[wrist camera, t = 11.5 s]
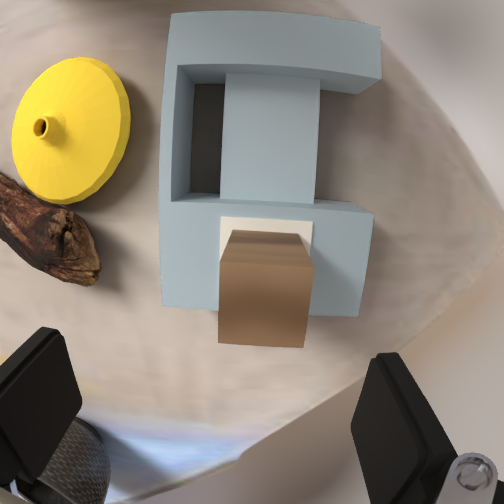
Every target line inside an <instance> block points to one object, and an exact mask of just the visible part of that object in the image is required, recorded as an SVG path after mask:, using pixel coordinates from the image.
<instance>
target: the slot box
mask: <svg viewBox="0 0 504 504" xmlns="http://www.w3.org/2000/svg"><path fill="white" fill-rule="evenodd" d="M380 80H382V61H381V34H380V27H378V26H374V25H369V24H365V23H360V22H355V21H349V20H344V19H338V18H331V17H324V16H317V15H309V14H299V13H289V12H275V11H252V10H218V11H195V12H182V13H171V20H170V28H169V36H168V44H167V53H166V63H165V73H164V85H163V98H162V112H161V131H160V156H159V250H160V275H161V294H162V306H166V307H177V308H188V309H201V310H214V311H219V267H220V260H221V257H222V255H223V252H224V250H225V247H226V245H227V242H228V240H229V237H230V235H231V232H232V230H233V229H234V230H250V231H266V232H281V233H296V234H299V236H300V238H301V240H302V242H303V244H304V247H305V249H306V251H307V253H308V255H309V257H310V259H311V261H312V263H313V265H314V276H313V284H312V292H311V299H310V306H309V313H308V315H310V316H358V314H359V309H360V304H361V298H362V293H363V287H364V282H365V276H366V269H367V263H368V257H369V250H370V243H371V235H372V228H373V219H374V214H373V213H372V212H370V211H368V210H366V209H364V208H362V207H360V206H358V205H356V204H354V203H352V202H345V201H333V200H321V199H314V193H315V179H316V164H317V148H318V129H319V106H320V90H327V91H335V92H342V93H349V94H356V95H358V94H359V93H361V92H363V91H364V90H366V89H367V88H369V87H371V86H372V85H374V84H375V83H377V82H379V81H380ZM195 84H225V99H224V117H223V137H222V158H221V183H220V194H219V193H190V171H191V144H192V123H193V106H194V90H195Z"/></svg>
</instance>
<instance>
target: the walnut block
mask: <svg viewBox="0 0 504 504" xmlns="http://www.w3.org/2000/svg"><path fill="white" fill-rule="evenodd" d="M313 276H314V265H313V263H312V261H311V259H310V257H309V255H308V253H307V251H306V249H305V247H304V244H303V242H302V240H301V238H300V236H299V234H296V233H281V232H266V231H250V230H234V229H233V230H232V232H231V235H230V237H229V240H228V242H227V245H226V247H225V250H224V252H223V255H222V257H221V260H220V267H219V311H218V343H225V344H238V345H254V346H272V347H296V348H303V346H304V340H305V334H306V327H307V320H308V313H309V306H310V299H311V292H312V284H313Z"/></svg>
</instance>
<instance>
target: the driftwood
mask: <svg viewBox="0 0 504 504" xmlns="http://www.w3.org/2000/svg"><path fill="white" fill-rule="evenodd" d="M0 239H2V240H3V241H4V242H6V243H7V244H8V245H9V246H10V247H11V248H12V249H13V250H14V251H15V252H16V253H17V254H18V255H19V256H20V257H21V258H22V259H24V260H25V261H26V262H27V263H28V264H30V265H31V266H32V267H34V268H36V269H38V270H41V271H43V272H45V273H47V274H49V275H51V276H53V277H55V278H57V279H59V280H61V281H63V282H70V283H76V284H79V285H82V286H86V287H87V286H91V285H93V284H94V283H95V281H97V280H98V278H99V276H98V273H100V272H101V271H102V266H101V263H100V262H99V257H98V254H97V252H96V250H95V248H94V240H93V238H92V236H91V235H90V232H89V230H88V228H87V226H86V224H85V222H84V220H83V219H82V218H81V217H79V216H78V215H77V214H75V213H74V212H72V211H70V210H68V209H66V208H64V207H62V206H60V205H57V204H53V203H50V202H48V201H45V200H42V199H39V198H37V197H35V196H32V195H30V194H29V193H27V192H25V191H23V190H22V189H21V188H19V187H18V186H17V182H16V181H15V180H14V179H7V178H6V177H5V176H4V175H3V174H1V173H0Z"/></svg>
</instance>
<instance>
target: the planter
mask: <svg viewBox="0 0 504 504" xmlns="http://www.w3.org/2000/svg"><path fill="white" fill-rule="evenodd" d="M110 473H111V470H110V461H109V457H108V454H107V452H106V450H105V448H104V447H103V445H102V440H101V438H100V436H99V435H98V433H97V432H96V431H95V430H94V429H93V428H92V427H91V426H90V425H89V424H87V423H86V422H84V421H83V420H81V419H79V418H77V417H75V418H74V420H73V422H72V423H71V425H70V427H69V428H68V430H67V432H66V433H65V435H64V437H63V438H62V440H61V442H60V443H59V445H58V447H57V449H56V450H55V452H54V454H53V455H52V457H51V459H50V461H49V462H48V464H47V466H46V468H45V469H44V471H43V473H42V475H41V476H40V477H39V478H36V479H35V481H34V483H33V484H30V483H28V482H26V481H24V480H22V479H20V478H19V477H18V475H17V476H16V478H15V483H16V487H17V491H18V494H20V495H21V496H22V497H23V498H24V499H26V500H27V501H28V502H30V503H31V504H104V501H105V498H106V495H107V491H108V486H109V482H110Z"/></svg>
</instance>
